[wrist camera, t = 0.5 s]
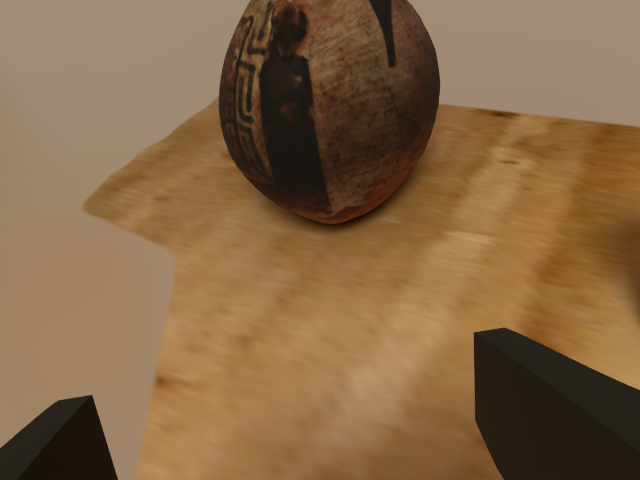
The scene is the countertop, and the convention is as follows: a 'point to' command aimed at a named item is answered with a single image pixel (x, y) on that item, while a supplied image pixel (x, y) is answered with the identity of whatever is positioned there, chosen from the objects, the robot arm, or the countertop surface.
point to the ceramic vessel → (328, 102)
